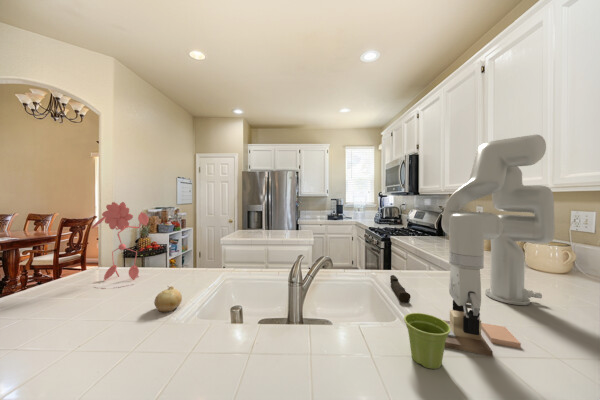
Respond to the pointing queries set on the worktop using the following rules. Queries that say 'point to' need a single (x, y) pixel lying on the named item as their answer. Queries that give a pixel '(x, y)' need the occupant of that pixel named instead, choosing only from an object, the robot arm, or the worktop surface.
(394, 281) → the hand tool
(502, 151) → the robot arm
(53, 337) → the worktop surface
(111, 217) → the figurine
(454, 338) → the board
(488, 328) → the tile
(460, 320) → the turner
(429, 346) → the plant pot
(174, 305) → the onion
